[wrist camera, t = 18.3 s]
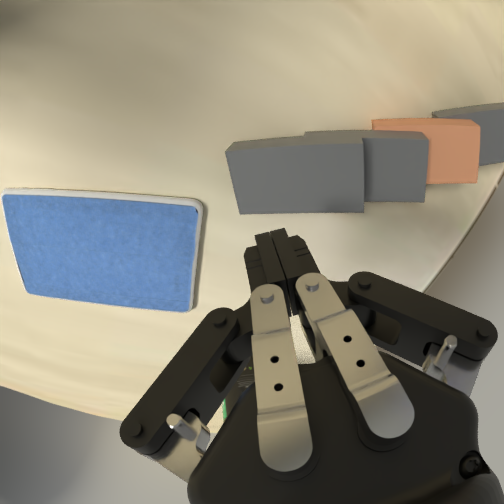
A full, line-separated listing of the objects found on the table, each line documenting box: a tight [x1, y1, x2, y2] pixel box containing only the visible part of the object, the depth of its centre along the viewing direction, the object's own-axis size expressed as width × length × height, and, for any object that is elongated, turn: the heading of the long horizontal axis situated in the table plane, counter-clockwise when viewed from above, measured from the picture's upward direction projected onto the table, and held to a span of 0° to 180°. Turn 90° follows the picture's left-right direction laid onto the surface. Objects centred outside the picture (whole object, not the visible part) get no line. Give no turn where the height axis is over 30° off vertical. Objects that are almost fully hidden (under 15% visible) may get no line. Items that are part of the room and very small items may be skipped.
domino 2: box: [304, 130, 429, 202], centre depth 20 cm, size 2×5×9 cm
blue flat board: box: [1, 188, 203, 313], centre depth 25 cm, size 19×13×1 cm, turn 79°
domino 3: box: [372, 118, 480, 184], centre depth 20 cm, size 2×5×9 cm
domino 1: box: [225, 135, 364, 214], centre depth 20 cm, size 2×5×9 cm
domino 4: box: [432, 103, 504, 166], centre depth 19 cm, size 2×5×9 cm
